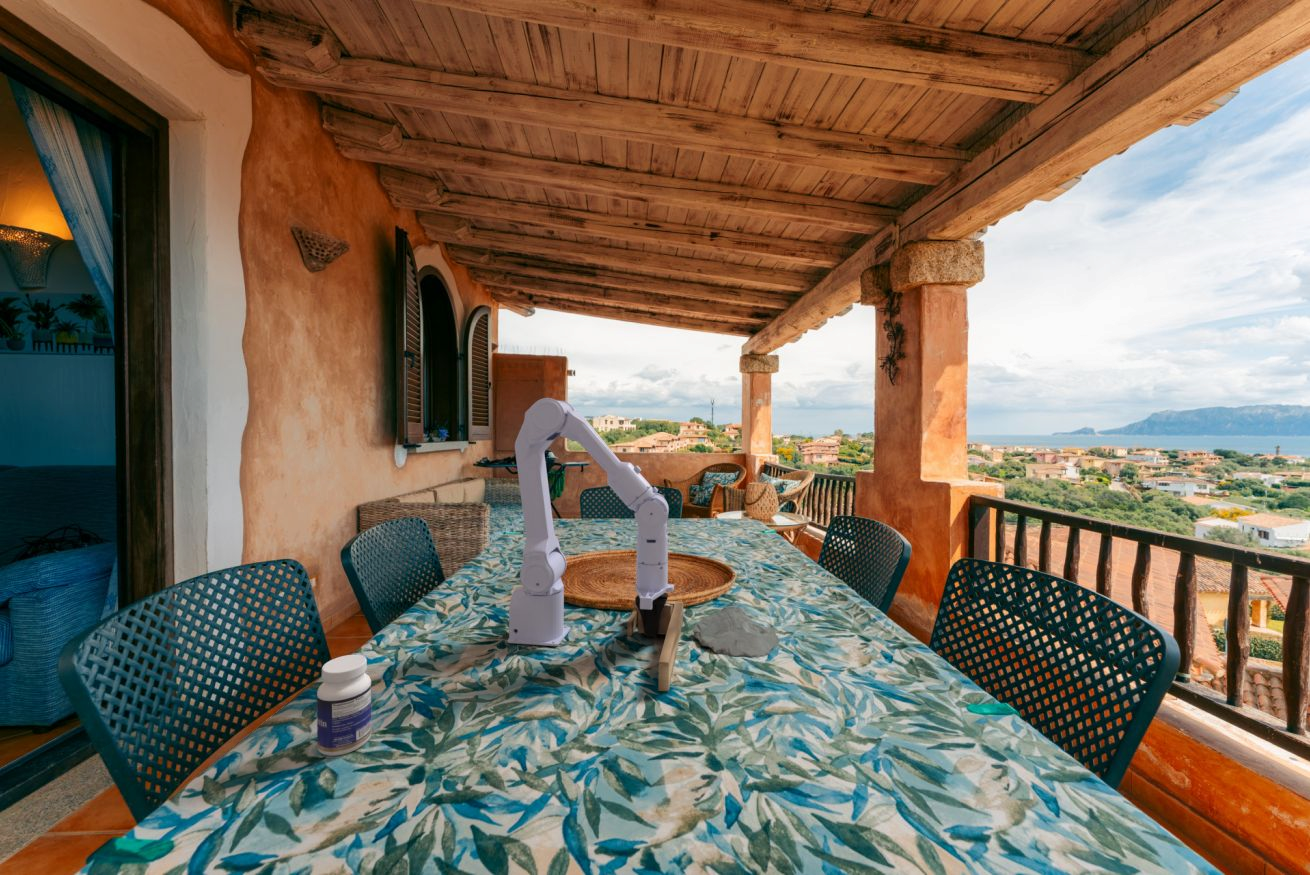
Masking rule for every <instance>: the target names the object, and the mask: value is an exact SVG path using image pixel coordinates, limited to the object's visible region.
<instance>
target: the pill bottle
mask: <svg viewBox="0 0 1310 875" xmlns="http://www.w3.org/2000/svg"><path fill="white" fill-rule="evenodd" d="M367 669H368V663H367V657H366V656H365V655H362V654H347V655H342V656H338V657H336V658H332V659H330V660H329V661H327V662H326V663H324V664H323V666H322V668H321V679H322V680H323V682H322V683H321V684H320V685H319V686H318V689H317V692H316V707H317V708H316V713H317V714H316V718H317V721H316V723H317V724H316V726H317V729H316V730H317V734H316V735H317V737H316V738H317V740H316V742H317V746H316V748H317V750H318V751H319V753H321V754H323V755H324V756H329V757H332V756H333V757H334V756H336V757H337V756H341V755H345V754H349V753H352V752H353V751H356V750H358V749H360V748H361V747H362V746H364V745H366V744H367V743H368V741H369V740H370V738H371V737H372V732H373V731H372V727H373V724H372V720H373V719H372V679H371V677H370V676H369V675H368V674H367V673H365V672H366V671H367Z"/></svg>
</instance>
